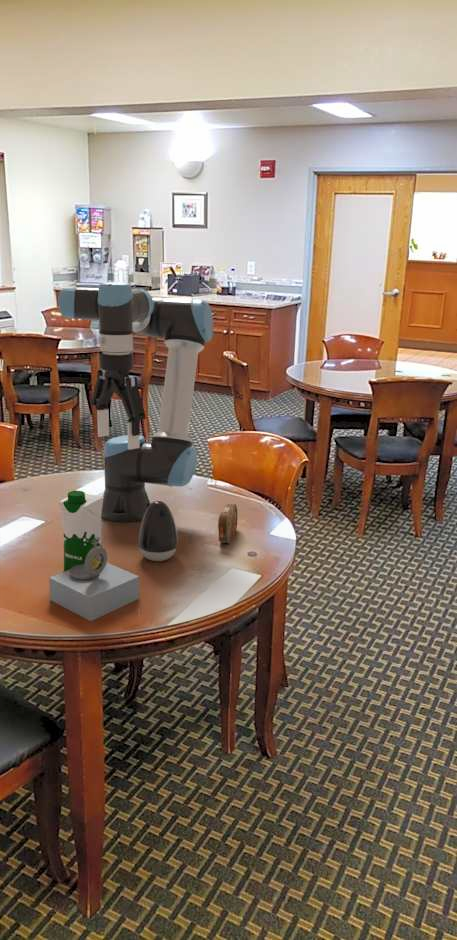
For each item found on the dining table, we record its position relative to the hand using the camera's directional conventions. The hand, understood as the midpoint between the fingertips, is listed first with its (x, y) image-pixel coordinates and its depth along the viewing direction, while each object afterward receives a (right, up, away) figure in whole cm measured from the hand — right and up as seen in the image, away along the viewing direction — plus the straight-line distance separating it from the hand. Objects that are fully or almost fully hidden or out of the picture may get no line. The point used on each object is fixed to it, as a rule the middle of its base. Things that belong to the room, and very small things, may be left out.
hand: (118, 442), depth 172 cm
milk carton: (-10, -31, +8) cm, 33 cm away
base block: (-4, -36, -8) cm, 37 cm away
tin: (+26, -25, +28) cm, 46 cm away
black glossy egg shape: (+8, -29, +14) cm, 33 cm away
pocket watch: (-5, -31, -10) cm, 33 cm away
